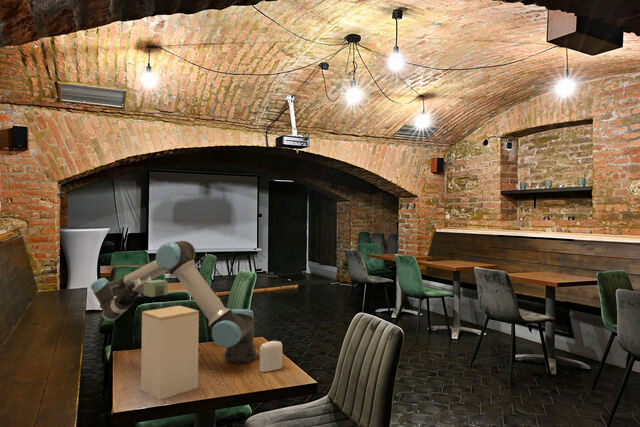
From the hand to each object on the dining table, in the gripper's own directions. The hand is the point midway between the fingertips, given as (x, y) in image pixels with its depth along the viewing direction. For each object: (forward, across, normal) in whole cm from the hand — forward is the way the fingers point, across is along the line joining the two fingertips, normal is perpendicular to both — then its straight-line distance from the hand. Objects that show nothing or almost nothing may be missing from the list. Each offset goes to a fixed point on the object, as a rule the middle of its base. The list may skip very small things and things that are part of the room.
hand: (144, 280), depth 186 cm
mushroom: (-32, -47, -27) cm, 63 cm away
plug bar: (-1, 0, -5) cm, 5 cm away
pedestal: (-2, 0, -45) cm, 45 cm away
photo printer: (+9, -41, -51) cm, 66 cm away
